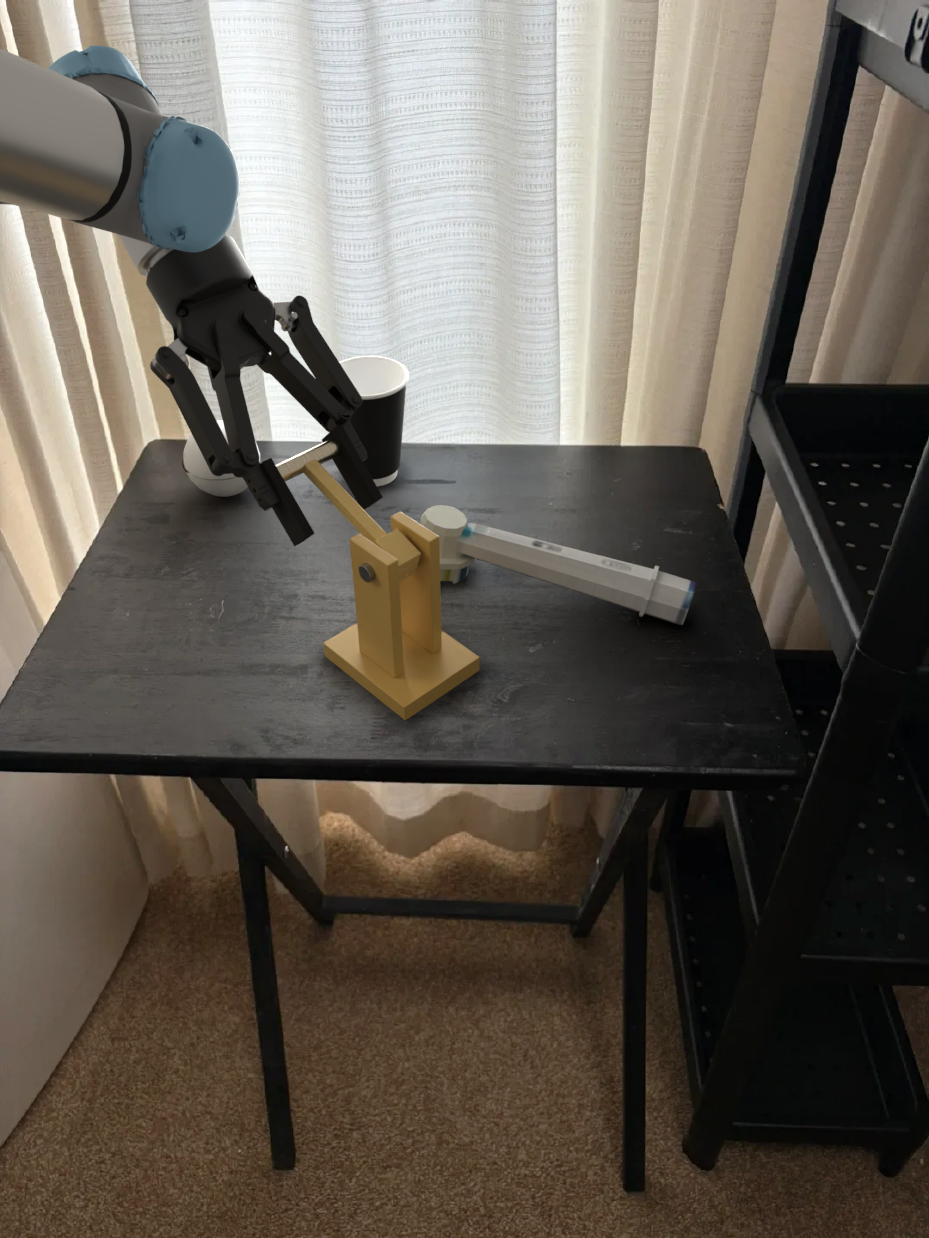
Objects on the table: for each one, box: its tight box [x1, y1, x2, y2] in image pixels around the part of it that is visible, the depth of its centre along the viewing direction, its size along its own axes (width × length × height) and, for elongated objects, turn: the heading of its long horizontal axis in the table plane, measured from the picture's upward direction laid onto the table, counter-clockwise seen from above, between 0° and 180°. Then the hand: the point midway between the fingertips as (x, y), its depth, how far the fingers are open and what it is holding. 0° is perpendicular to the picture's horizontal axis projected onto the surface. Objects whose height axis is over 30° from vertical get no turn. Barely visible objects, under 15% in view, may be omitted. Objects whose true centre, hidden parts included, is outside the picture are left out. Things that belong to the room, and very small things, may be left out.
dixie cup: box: [339, 355, 410, 487], centre depth 102 cm, size 8×8×11 cm
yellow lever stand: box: [322, 511, 481, 721], centre depth 81 cm, size 10×8×13 cm
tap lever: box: [275, 439, 421, 582], centre depth 79 cm, size 13×6×2 cm, turn 44°
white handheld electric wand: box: [418, 504, 697, 626], centre depth 90 cm, size 5×7×25 cm
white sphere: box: [181, 419, 261, 498], centre depth 100 cm, size 10×7×7 cm
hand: (338, 521), depth 82 cm, fingers open, 6 cm apart
